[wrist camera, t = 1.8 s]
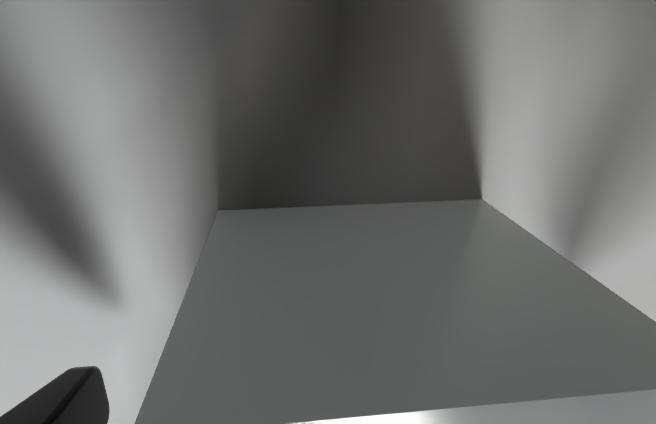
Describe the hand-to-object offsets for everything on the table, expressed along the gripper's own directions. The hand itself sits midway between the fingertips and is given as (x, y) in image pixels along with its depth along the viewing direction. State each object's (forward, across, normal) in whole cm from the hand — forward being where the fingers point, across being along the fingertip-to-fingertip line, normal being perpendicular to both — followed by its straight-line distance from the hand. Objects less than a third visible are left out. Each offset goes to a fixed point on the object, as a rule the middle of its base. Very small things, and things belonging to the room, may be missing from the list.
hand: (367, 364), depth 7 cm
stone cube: (+2, 0, 0) cm, 2 cm away
